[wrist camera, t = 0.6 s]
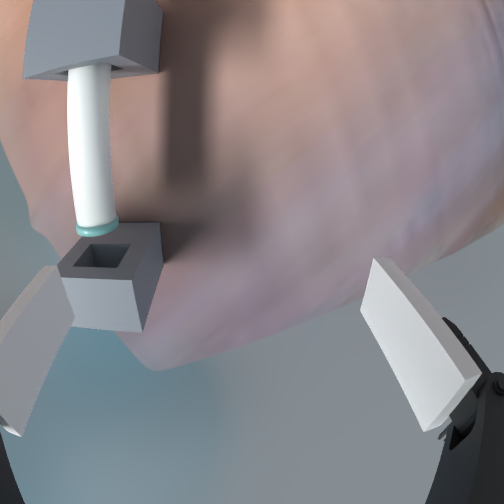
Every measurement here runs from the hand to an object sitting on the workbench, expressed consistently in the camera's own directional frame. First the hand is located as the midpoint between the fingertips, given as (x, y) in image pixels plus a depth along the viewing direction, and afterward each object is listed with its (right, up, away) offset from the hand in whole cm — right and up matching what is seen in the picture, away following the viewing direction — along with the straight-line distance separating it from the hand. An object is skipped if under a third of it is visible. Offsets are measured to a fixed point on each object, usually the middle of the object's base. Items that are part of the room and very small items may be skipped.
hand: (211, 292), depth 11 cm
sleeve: (-13, +25, +13) cm, 31 cm away
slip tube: (-13, +16, +11) cm, 23 cm away
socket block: (-14, +3, +24) cm, 29 cm away
